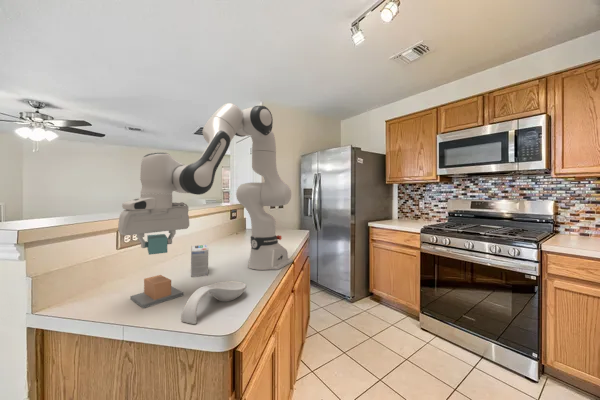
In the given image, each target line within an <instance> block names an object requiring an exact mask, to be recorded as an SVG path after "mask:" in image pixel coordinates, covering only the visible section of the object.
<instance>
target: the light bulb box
mask: <svg viewBox="0 0 600 400" xmlns="http://www.w3.org/2000/svg"><path fill="white" fill-rule="evenodd" d="M190 252H191V254H190V277H191V278H196V277H197V278H198V277H204V276H205V277H206V276H209V247H208V244H203V245H202V244H201V245H199V244H198V245H191V251H190Z"/></svg>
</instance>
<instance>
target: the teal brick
mask: <svg viewBox="0 0 600 400" xmlns="http://www.w3.org/2000/svg"><path fill="white" fill-rule="evenodd" d="M167 238H168V236H167V235H166V234H165V233H160V234H159V233H158V234H147V239H146V240H147V242H148V247H147V248H146V249H147V253H148V255H159V254H168V244H167Z"/></svg>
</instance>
